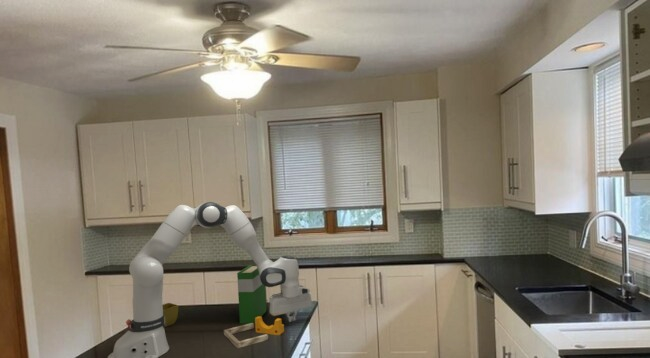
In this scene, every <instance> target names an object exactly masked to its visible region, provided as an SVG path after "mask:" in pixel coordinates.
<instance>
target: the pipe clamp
mask: <svg viewBox="0 0 650 358" xmlns="http://www.w3.org/2000/svg"><path fill="white" fill-rule="evenodd" d="M254 328H255V333H258V334H264V335H265V334H267V335H274V336H280V335H281V334H283V333H284V332H285V324H283V322H282V318H280V317H278V318H276V319H275V320H274V324H271V325H268V324H266V323H265V322H264V321H263V317H262V316H261V317H260V316H258V317H256V318H255V324H254Z"/></svg>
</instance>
